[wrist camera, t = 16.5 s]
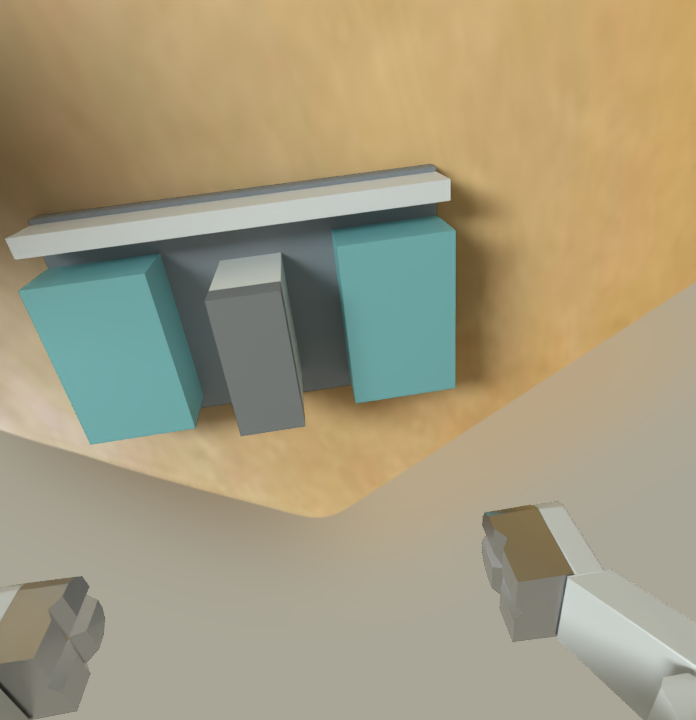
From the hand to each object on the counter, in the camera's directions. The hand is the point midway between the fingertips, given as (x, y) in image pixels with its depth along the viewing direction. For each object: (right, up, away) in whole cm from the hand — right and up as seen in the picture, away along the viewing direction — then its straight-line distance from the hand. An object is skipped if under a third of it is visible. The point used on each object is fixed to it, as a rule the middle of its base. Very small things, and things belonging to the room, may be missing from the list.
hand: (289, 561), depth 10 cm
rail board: (-5, +8, +25) cm, 26 cm away
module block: (-5, +7, +24) cm, 25 cm away
